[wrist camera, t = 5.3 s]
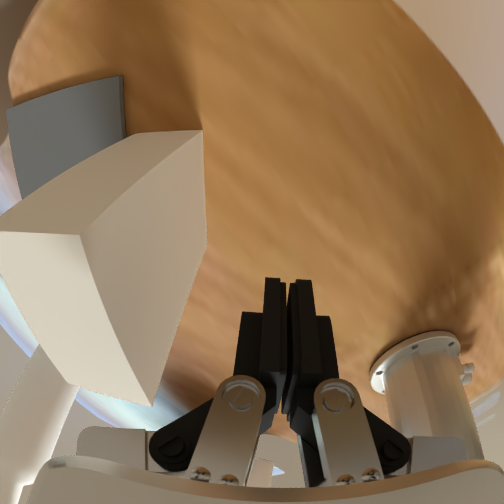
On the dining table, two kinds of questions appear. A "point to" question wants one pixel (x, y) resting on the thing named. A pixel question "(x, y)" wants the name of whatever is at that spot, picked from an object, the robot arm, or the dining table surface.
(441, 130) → the dining table surface
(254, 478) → the milk
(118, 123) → the mat
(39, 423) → the bottle
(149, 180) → the flip block
